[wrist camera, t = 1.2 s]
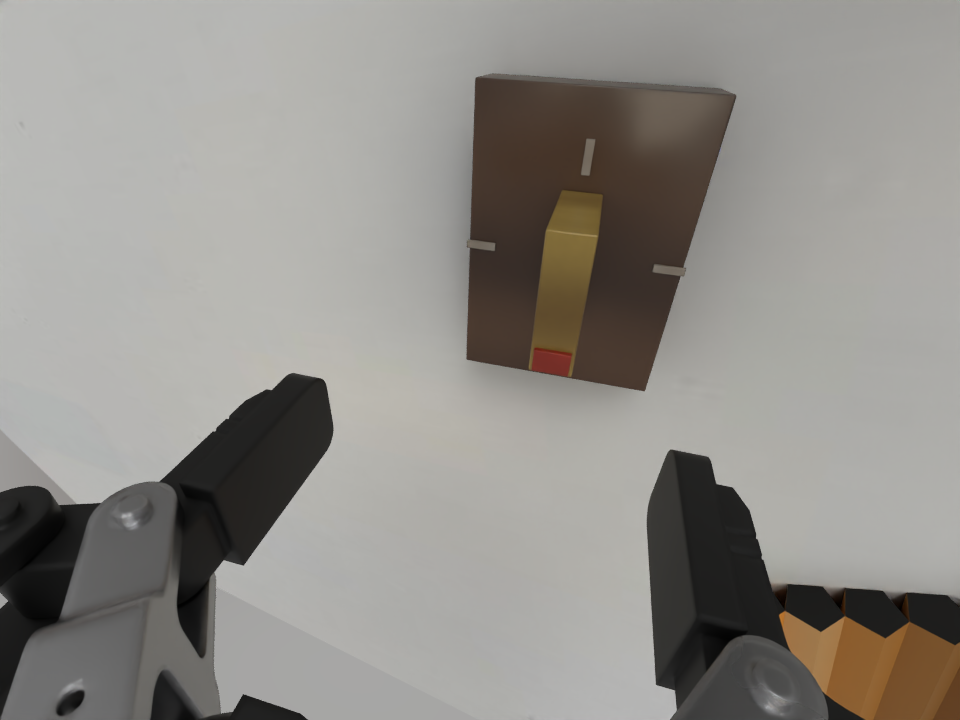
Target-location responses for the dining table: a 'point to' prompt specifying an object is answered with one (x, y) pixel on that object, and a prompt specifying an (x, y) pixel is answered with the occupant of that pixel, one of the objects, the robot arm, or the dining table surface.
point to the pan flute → (878, 651)
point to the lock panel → (624, 216)
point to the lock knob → (564, 281)
